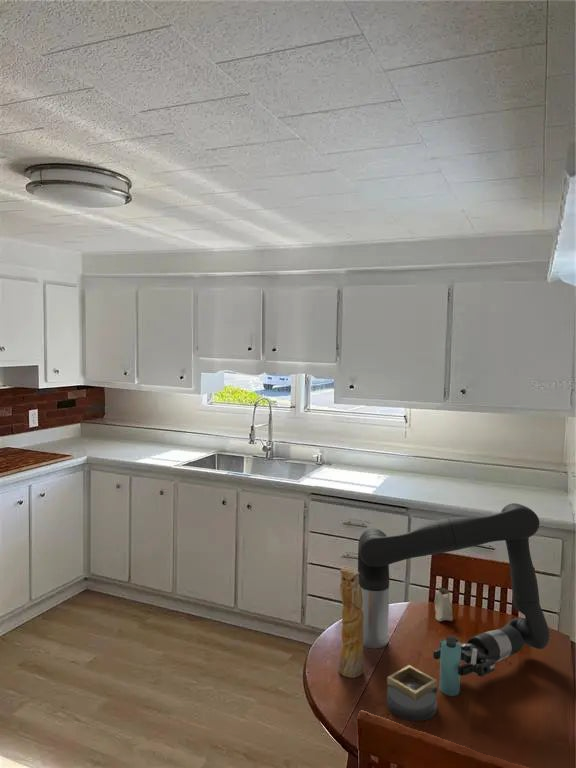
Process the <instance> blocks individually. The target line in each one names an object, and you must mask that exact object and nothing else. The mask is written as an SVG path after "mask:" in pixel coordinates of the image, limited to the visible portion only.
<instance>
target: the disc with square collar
mask: <svg viewBox="0 0 576 768" xmlns="http://www.w3.org/2000/svg"><path fill="white" fill-rule="evenodd" d="M437 699H438V680H437V679H436V678H434V677H433V676H430V675H429V674H427V673H424V672H423V671H421V670H419V669H418V668H416V667H414V666H412V665H410V664H408V665H406V666H405V667H403V668H401V669H399V670H397V671H396V672H394V673H392V674H390V675H388V676H387V677H386V706H387V708H388V710H389V711H390V712H391V713H392V714H394V715H396V716H397V717H399V718H401V719H404V720H408V721H412V722H413V721H414V722H422V721H427V720H430V719H431V718H432V717H434V716H435V715H436V713H437V702H438V701H437Z"/></svg>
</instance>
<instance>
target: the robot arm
mask: <svg viewBox="0 0 576 768" xmlns="http://www.w3.org/2000/svg"><path fill="white" fill-rule="evenodd" d="M539 529H540V518H539V516H538V515H537V513H536V512H535V511H534V510H532V509H531V507H528V506H525V505H522V504H520V503H515V502H514V503H510V504H506V505H505V506H504V507H503V508H502V509H501V511H500V512H499V513H494V514H490V515H485V516H483V515H482V516H454V517H447V518H442V519H437V520H432V521H429V522H426V523H424V524H422V525H420V526H418V527H417V528H414V529H413V530H411V531H408V532H405V533H402V534H396V535H388V536H387V534H386V533H385V532H383V530H381V529H378V528H369V529H367V530H365V531H364V532H363V533H362V534H361V535H360V537H359V539H358V544H357V546H358V549H357V551H358V552H357V572H359V573H360V574H359V575H358V577H359V585H360V587H361V590H362V597H363V604H362V609H361V610H362V611H363V613H364V618H363V648H369V649H381V648H385V646H387V645H388V641H389V638H388V637H389V611H390V610H389V607H390V605H389V604H390V565H392V564H394V563H395V564H396V563H398V562H401V561H405V560H409V559H413V558H419V557H425V556H430V555H436V554H438V555H439V554H443V553H449V552H450V553H451V552H453V551H458V550H463V549H469V548H472V547H477V546H480V545H484V544H488V543H493V542H502V541H505V545H506V549H507V555H508V562H509V570H510V581H511V592H512V600H513V602H512V603H513V606H514V609H515V610H516V611H518V612H520V613H521V614H523V615H524V617H516V618H513V619H511V620H510V621H508V623H507V624H505V625H504V626H503V627H500V628H497V629H495V630H488V631H486V632H485V631H484V632H482V633H480V634H476V635H474V636H471V637H470V638H469V639H468V641H467V642H460V641H459V638H458V637H456V642H457V643H459V644H460V645H461V661H464V662H465V664H462V665H460V666H459V667H458V675H460V677H462V676H467V675H469V674H472V675H474V674H477V677H484V676H486V675H488V674H490V673H492V672H494V671H495V669H496V663H497V662H501V661H502V660H504V659H506V658H507V657H510V656H512V655H515V654H517V653H519V652H520V651H521V650H522V649H523V647H524V645H525V646H528V647H530V648H534V649H537V650H542V649H545V648H546V647H547V646H548V644H549V641H550V637H551V636H550V629H549V625H548V623H547V620H546V618H545V615H544V612H543V610H542V606H541V604H540V603H541V602H540V595H539V593H540V591H539V584H538V580H537V575H536V571H535V567H534V564H533V561H532V556H531V551H530V539H529V538H530V537H532V536H534V535H535V534H536V533H537V532H538V531H539ZM445 640H446V639H444V640H441V641H439V648H437V649H434V650H433V655H432V657H433V659H434V660H439V659H440V657H441V642H442V641H445Z"/></svg>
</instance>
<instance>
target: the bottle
mask: <svg viewBox="0 0 576 768" xmlns="http://www.w3.org/2000/svg"><path fill="white" fill-rule="evenodd" d="M456 638H457V637H456V636H454V635H447V636H446V639H444V640H445V641H444V640H441V641H442V642H441V657H440V663H439V664H440V665H439V691H440V693H442V694H443V695H445V696H451V697H454V696H458V695H459V694H460V687H461V684H460V683H461V676H460V675H458V667H459V666H461V664H462V663H461V661H462V660H461V645H460V644H459V643H460V642H459V643H457V642H456Z"/></svg>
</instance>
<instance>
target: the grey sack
mask: <svg viewBox="0 0 576 768" xmlns="http://www.w3.org/2000/svg"><path fill="white" fill-rule="evenodd" d="M450 598H451V597H450V590H448V589H447V588H444V587H439V588H438V592H437V593H436V595H435V597H434V602H433V603H434V610H435V621H438V622H443V621H450V622H453V620H454V617H453V607H452V603H451V599H450Z"/></svg>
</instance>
